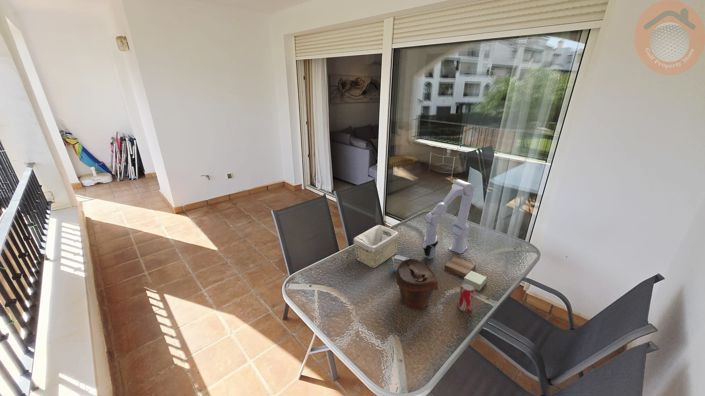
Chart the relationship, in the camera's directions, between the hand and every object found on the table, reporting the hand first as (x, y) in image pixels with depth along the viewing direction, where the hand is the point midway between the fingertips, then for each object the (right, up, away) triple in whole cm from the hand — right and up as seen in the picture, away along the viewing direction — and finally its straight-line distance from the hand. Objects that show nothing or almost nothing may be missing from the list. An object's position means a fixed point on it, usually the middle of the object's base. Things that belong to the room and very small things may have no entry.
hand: (429, 253), depth 164 cm
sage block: (+17, -11, -21) cm, 30 cm away
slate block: (0, -1, +1) cm, 1 cm away
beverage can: (+6, -17, -37) cm, 42 cm away
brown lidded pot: (-15, -16, -32) cm, 39 cm away
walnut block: (+14, -7, -10) cm, 18 cm away
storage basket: (-31, -3, +4) cm, 31 cm away
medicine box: (-18, -8, -11) cm, 23 cm away
